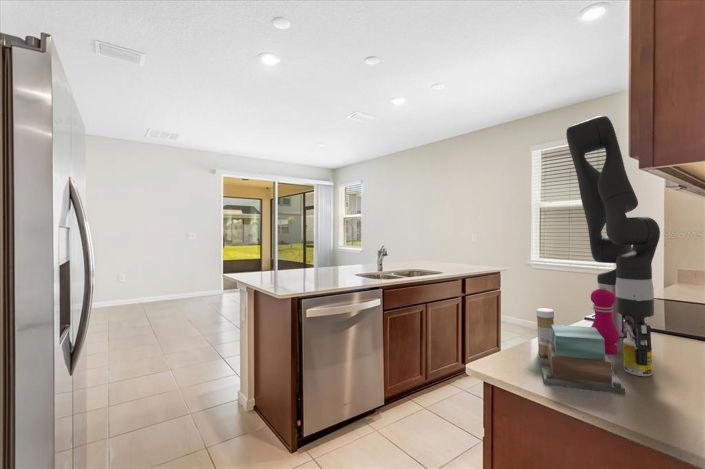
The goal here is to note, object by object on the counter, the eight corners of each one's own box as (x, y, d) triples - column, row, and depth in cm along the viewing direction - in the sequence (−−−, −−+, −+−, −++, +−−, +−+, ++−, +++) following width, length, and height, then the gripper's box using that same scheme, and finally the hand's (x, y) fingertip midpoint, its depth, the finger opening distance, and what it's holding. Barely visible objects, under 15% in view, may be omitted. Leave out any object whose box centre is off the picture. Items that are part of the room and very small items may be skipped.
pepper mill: (605, 356, 99) (603, 287, 98) (583, 347, 106) (581, 283, 105) (626, 353, 100) (624, 285, 100) (603, 344, 107) (601, 281, 107)
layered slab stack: (539, 359, 99) (538, 320, 99) (607, 366, 92) (606, 325, 92) (544, 383, 84) (543, 338, 84) (625, 394, 78) (623, 345, 77)
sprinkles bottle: (558, 354, 101) (556, 309, 101) (550, 358, 99) (548, 312, 99) (542, 350, 105) (541, 306, 105) (534, 354, 103) (533, 309, 102)
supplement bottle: (648, 379, 84) (647, 338, 84) (620, 372, 88) (619, 333, 88) (655, 372, 87) (654, 332, 87) (627, 366, 92) (626, 328, 91)
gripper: (609, 289, 95) (610, 347, 96) (623, 300, 83) (625, 367, 83) (643, 291, 92) (644, 350, 92) (664, 302, 79) (666, 371, 80)
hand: (635, 358), depth 88 cm, fingers open, 8 cm apart
